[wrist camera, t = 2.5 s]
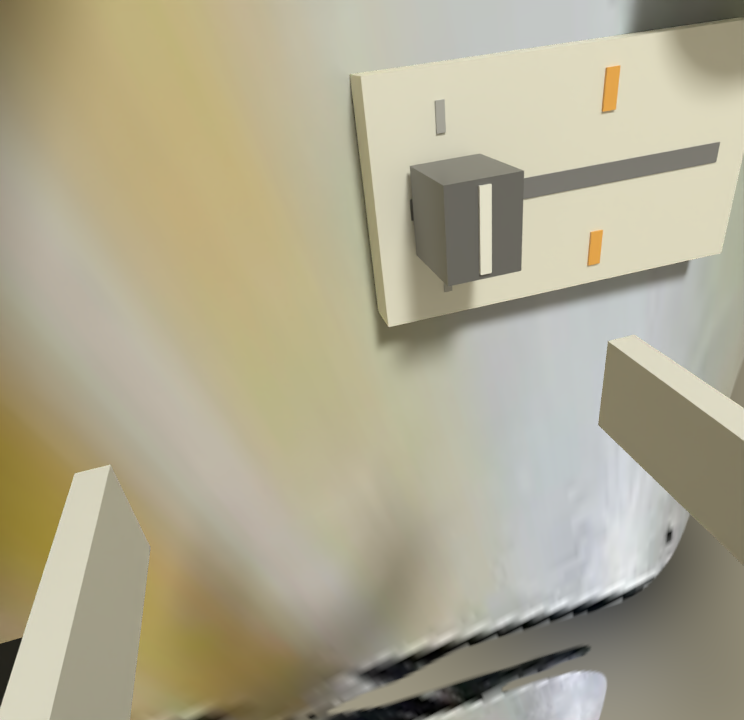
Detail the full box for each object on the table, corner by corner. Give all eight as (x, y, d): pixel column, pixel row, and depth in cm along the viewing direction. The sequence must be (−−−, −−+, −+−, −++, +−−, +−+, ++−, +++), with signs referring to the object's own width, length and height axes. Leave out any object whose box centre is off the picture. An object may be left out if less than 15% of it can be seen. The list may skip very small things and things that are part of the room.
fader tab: (416, 254, 32) (449, 287, 27) (409, 165, 29) (444, 186, 25) (480, 241, 32) (522, 271, 28) (479, 153, 30) (525, 171, 26)
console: (378, 311, 36) (389, 328, 34) (349, 74, 29) (361, 76, 27) (694, 242, 40) (722, 253, 38) (738, 17, 33) (776, 15, 31)
